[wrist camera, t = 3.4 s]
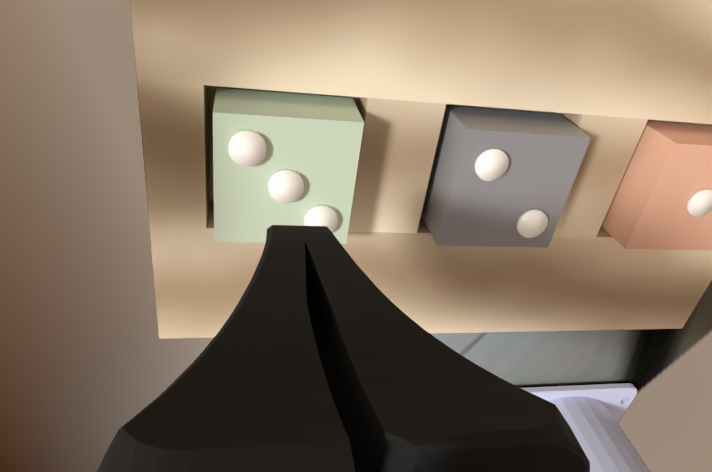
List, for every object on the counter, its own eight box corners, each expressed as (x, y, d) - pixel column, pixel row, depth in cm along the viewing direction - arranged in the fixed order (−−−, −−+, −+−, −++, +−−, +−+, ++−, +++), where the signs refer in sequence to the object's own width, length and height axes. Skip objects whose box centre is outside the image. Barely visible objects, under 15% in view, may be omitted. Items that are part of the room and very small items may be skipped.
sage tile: (337, 211, 18) (347, 247, 17) (217, 207, 18) (213, 245, 16) (352, 98, 16) (365, 125, 14) (216, 87, 15) (212, 115, 14)
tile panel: (648, 294, 26) (682, 328, 24) (167, 295, 21) (159, 338, 19) (822, -26, 18) (891, -14, 16) (137, -132, 14) (118, -134, 12)
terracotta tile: (683, 221, 21) (723, 253, 20) (594, 219, 20) (628, 252, 19) (734, 127, 19) (784, 152, 17) (637, 119, 18) (680, 145, 17)
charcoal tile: (523, 217, 20) (550, 250, 18) (420, 214, 19) (438, 249, 17) (559, 113, 18) (594, 140, 16) (445, 105, 17) (469, 131, 15)
